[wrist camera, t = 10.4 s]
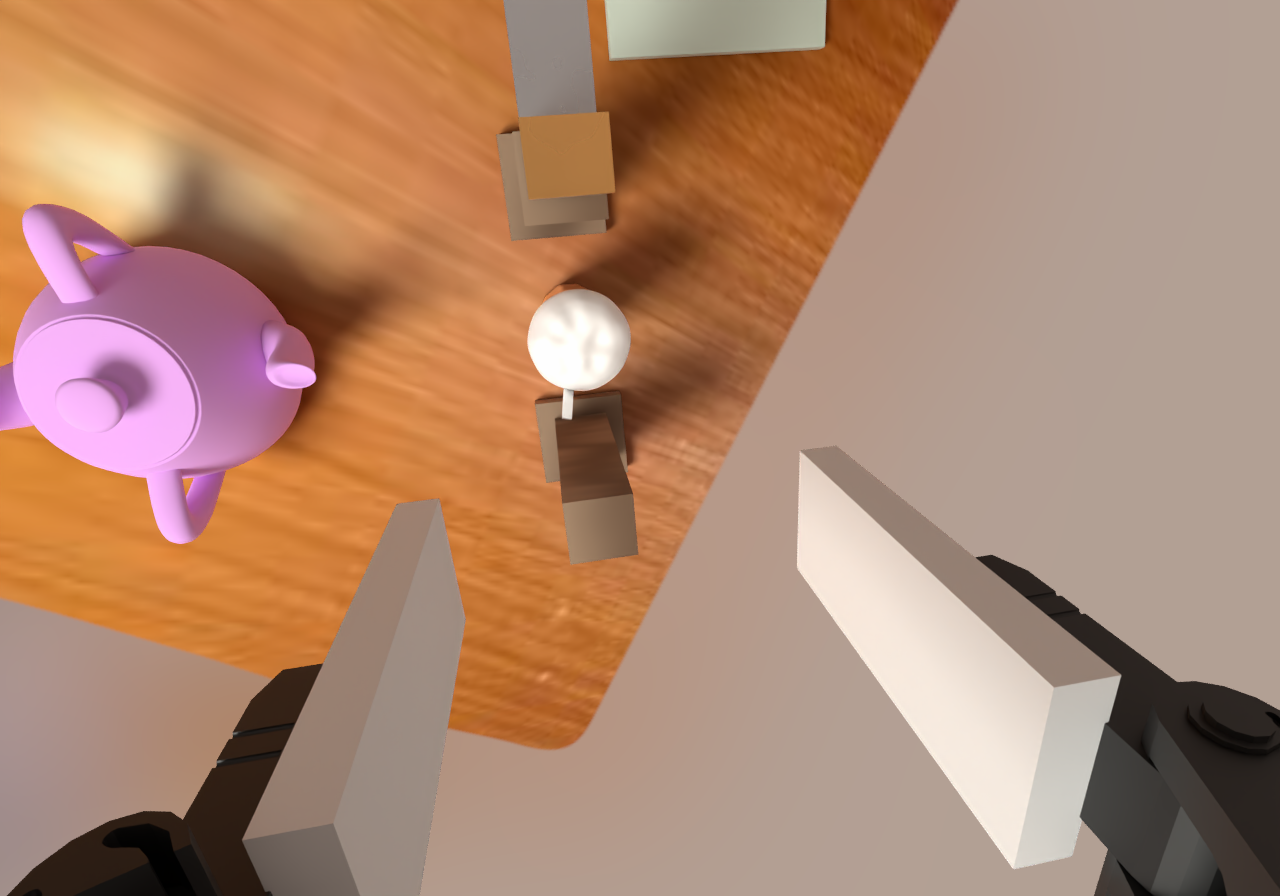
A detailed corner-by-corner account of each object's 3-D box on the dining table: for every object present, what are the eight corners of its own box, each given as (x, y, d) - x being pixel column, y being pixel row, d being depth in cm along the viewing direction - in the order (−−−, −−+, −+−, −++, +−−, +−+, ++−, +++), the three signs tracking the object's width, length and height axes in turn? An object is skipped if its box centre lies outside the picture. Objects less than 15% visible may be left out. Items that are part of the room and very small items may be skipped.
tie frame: (546, 477, 39) (550, 587, 28) (443, -235, 26) (377, -552, 15) (626, 467, 39) (661, 570, 28) (562, -234, 27) (582, -540, 16)
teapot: (369, 335, 34) (317, 377, 26) (228, 514, 36) (141, 604, 28) (149, 173, 30) (5, 163, 22) (7, 388, 32) (-171, 451, 24)
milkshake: (519, 355, 36) (513, 408, 26) (538, 261, 34) (540, 282, 25) (596, 373, 37) (616, 430, 28) (619, 282, 35) (649, 311, 26)
